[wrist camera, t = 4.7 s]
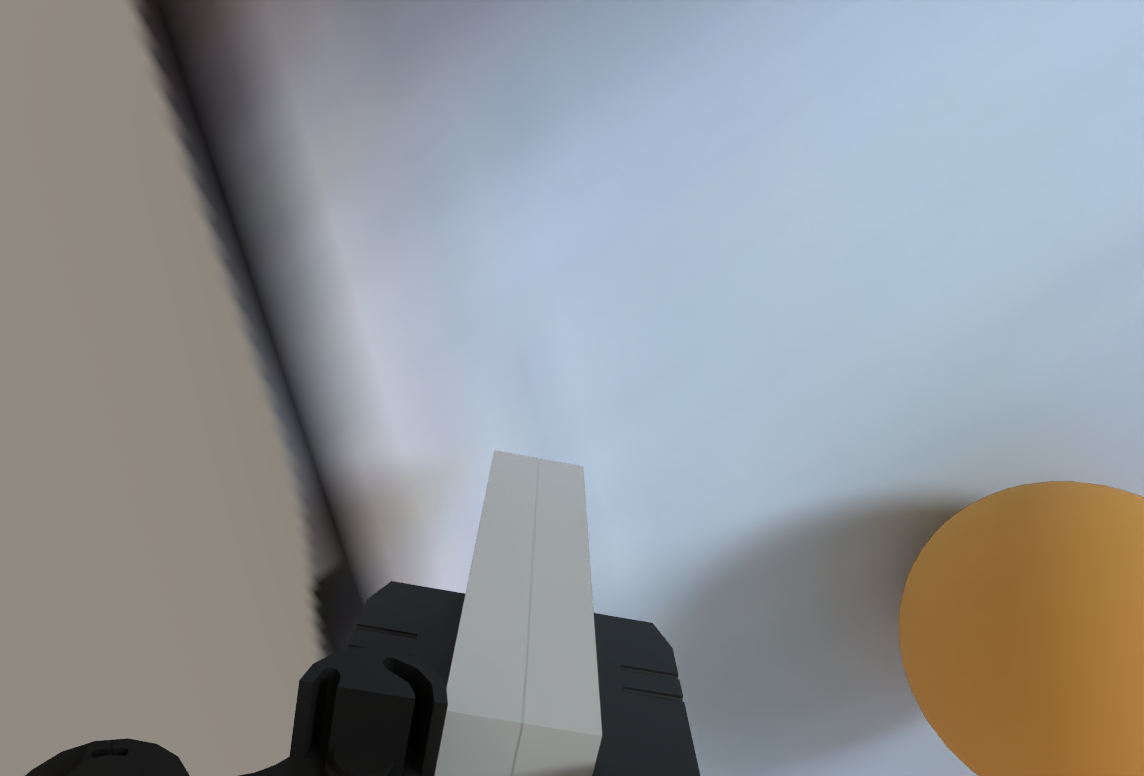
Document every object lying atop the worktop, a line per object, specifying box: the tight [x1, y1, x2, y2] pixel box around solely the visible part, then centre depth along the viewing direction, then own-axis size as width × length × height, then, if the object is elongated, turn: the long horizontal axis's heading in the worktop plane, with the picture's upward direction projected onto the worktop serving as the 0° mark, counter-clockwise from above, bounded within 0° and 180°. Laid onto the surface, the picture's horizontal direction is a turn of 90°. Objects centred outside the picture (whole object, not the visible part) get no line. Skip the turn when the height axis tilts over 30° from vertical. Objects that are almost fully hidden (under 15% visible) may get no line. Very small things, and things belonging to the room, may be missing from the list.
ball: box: [899, 481, 1144, 776], centre depth 15 cm, size 6×6×6 cm
